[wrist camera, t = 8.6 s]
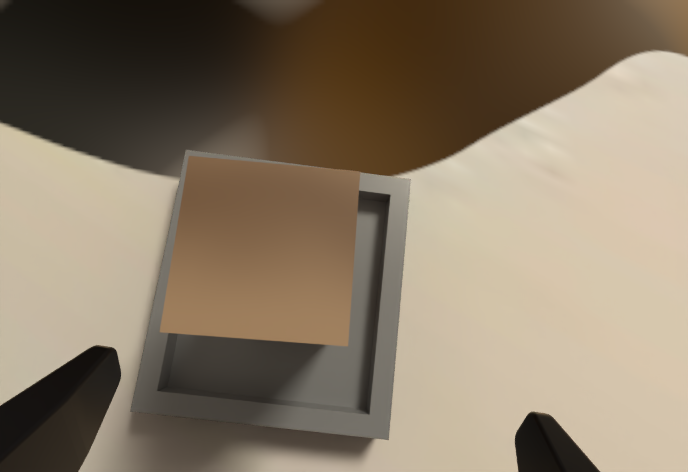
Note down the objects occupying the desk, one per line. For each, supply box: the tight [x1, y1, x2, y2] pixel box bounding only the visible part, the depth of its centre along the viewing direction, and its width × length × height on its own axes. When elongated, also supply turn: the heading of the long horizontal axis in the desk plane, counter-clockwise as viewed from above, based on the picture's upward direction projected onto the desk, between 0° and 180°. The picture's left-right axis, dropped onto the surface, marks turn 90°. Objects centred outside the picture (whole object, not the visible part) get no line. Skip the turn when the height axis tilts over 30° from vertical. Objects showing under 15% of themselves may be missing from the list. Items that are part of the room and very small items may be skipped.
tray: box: [130, 150, 411, 440], centre depth 22 cm, size 13×12×2 cm
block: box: [160, 156, 360, 346], centre depth 16 cm, size 4×4×12 cm
